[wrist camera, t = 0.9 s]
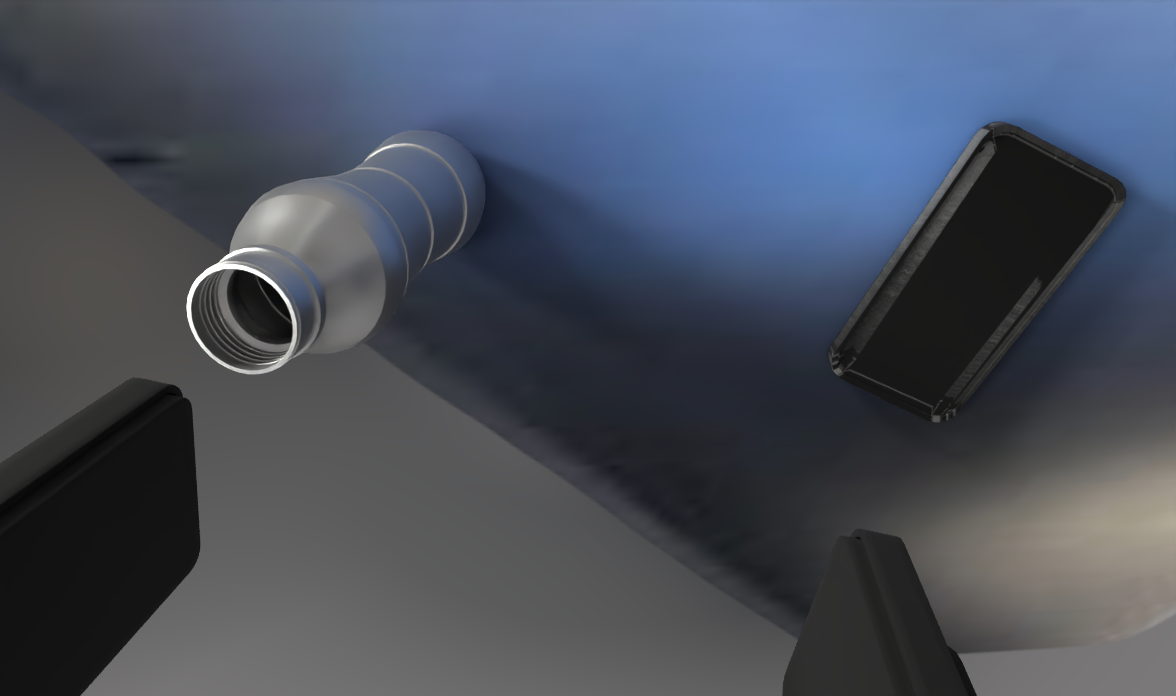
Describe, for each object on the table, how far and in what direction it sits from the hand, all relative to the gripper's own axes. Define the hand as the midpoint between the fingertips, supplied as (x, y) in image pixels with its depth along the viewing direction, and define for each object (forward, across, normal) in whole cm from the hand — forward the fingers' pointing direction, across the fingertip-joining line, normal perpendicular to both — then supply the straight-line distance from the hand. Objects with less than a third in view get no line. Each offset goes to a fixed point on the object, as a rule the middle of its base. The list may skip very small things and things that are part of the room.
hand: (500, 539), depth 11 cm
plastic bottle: (+32, +10, +3) cm, 34 cm away
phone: (+32, -18, +3) cm, 37 cm away
